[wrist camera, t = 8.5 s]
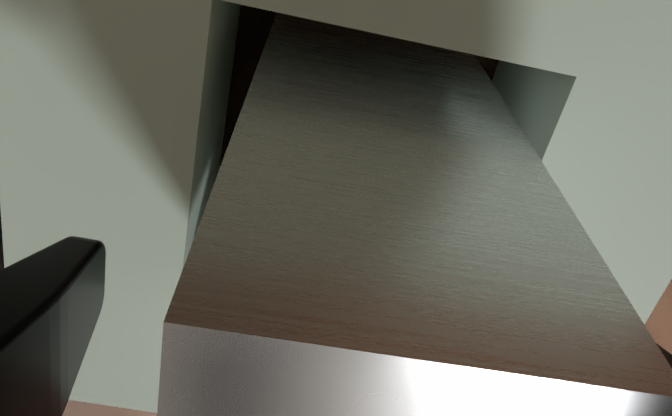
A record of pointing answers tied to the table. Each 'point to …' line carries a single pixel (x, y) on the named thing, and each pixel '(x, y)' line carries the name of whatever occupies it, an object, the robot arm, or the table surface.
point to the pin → (394, 254)
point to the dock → (210, 116)
